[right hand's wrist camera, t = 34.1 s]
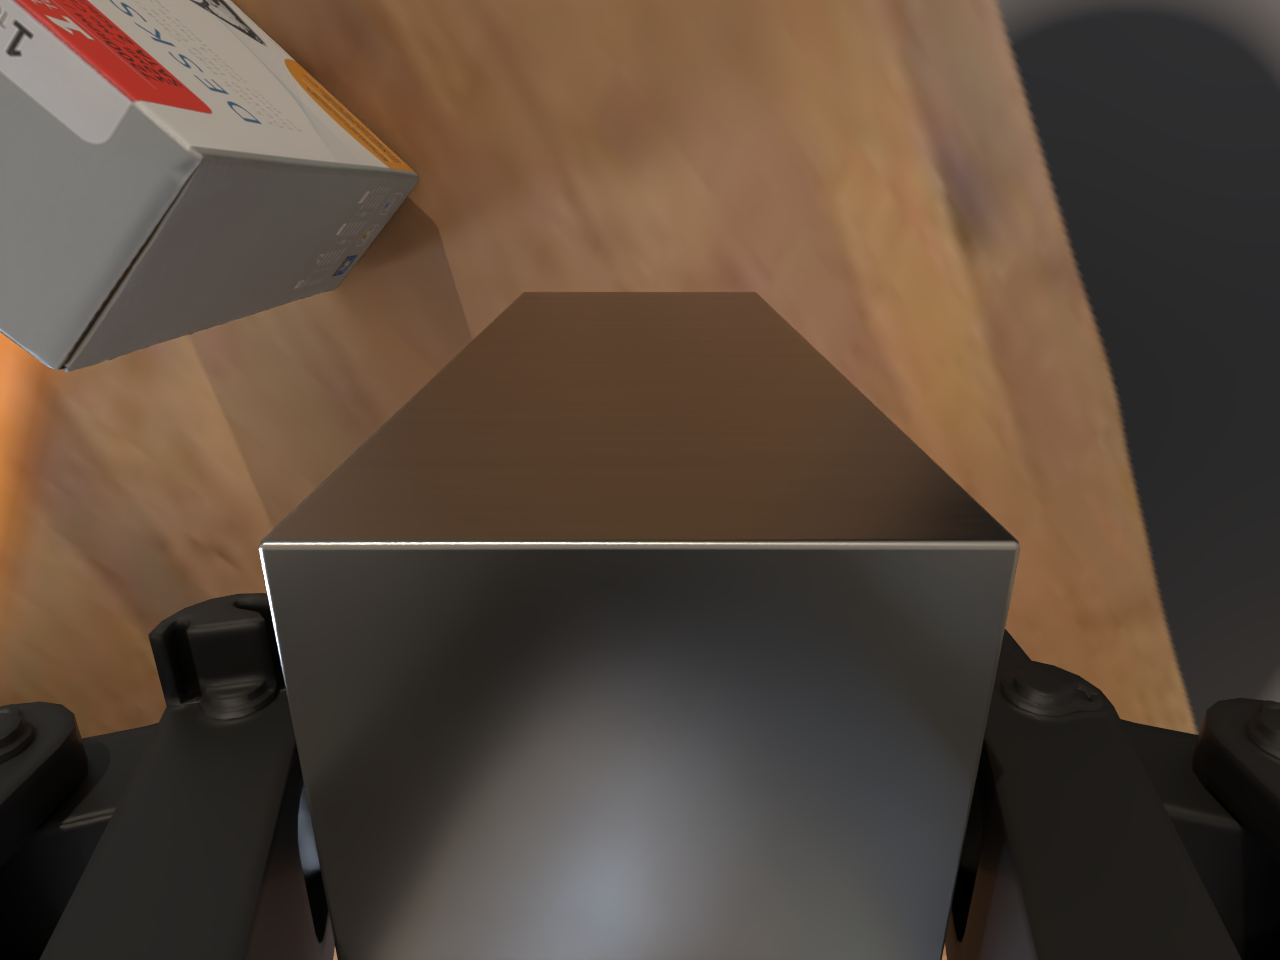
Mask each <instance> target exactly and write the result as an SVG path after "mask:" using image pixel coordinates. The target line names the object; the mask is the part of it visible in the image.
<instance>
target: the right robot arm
mask: <svg viewBox="0 0 1280 960" xmlns="http://www.w3.org/2000/svg"><path fill="white" fill-rule="evenodd" d="M149 639H150V643H151V647H152V651H153V655H154V659H155V662H156V666H157V670H158V674H159V678H160V682H161V686H162V690H163V693H164V697H165V701H166V705H167V708H166V710H165V712H164V714H163V715H162V717H161V719H160V721H159V723H156V724H152V725H148V726H144V727H140V728H135V729H129V730H124V731H119V732H114V733H109V734H104V735H99V736H94V737H88V738H83V739H81V736H80V733H79V729H78V726H77V723H76V720H75V716H74V714H73V713H72V712H71V711H69V710H68V709H67V708H65V707H64V706H63V705H60V704H53V703H45V702H33V703H24V704H11V705H6V706H1V707H0V960H333V956H334V948H335V942H334V937H333V932H332V926H331V921H330V916H329V911H328V905H327V900H326V895H325V890H324V885H323V879H322V874H321V869H320V864H319V859H318V853H317V848H316V843H315V838H314V833H313V827H312V822H311V817H310V812H309V806H308V801H307V796H306V791H305V786H304V780H303V775H302V770H301V765H300V760H299V754H298V749H297V744H296V739H295V734H294V728H293V723H292V718H291V713H290V707H289V702H288V697H287V692H286V687H285V681H284V676H283V671H282V666H281V661H280V655H279V650H278V645H277V640H276V635H275V629H274V624H273V619H272V614H271V608H270V603H269V598H268V594H265V593H254V594H235V595H230V596H225V597H219V598H214V599H210V600H207V601H204V602H201V603H199V604H196V605H193V606H190V607H187V608H184V609H183V610H181V611H179V612H177V613H176V614H174V615H172V616H170V617H168V618H167V619H165V620H163V621H162V622H161V623H160V624H159V625H158V626H157V627H156V628H155V629H154V630H153V631H152V632H151V633H150V634H149ZM945 946H946V954H947V960H1280V703H1279V702H1274V701H1263V700H1254V699H1245V698H1237V699H1230V700H1223V701H1218V702H1217V703H1215V704H1214V705H1213V706H1211V707H1210V708H1209V709H1207V711H1206V714H1205V717H1204V721H1203V724H1202V727H1201V730H1200V733H1199V735H1195V734H1190V733H1184V732H1179V731H1174V730H1169V729H1164V728H1159V727H1153V726H1148V725H1143V724H1138V723H1134V722H1130V721H1126V720H1122V719H1120V718H1119V716H1118V714H1117V712H1116V710H1115V708H1114V706H1113V705H1112V704H1111V702H1110V701H1109V700H1108V699H1107V698H1106V696H1105V695H1104V694H1103V693H1102V692H1101V690H1099V689H1098V688H1096V687H1095V686H1093V685H1092V684H1090V683H1089V682H1087V681H1086V680H1084V679H1083V678H1081V677H1080V676H1078V675H1075V674H1073V673H1071V672H1068V671H1066V670H1063V669H1061V668H1058V667H1056V666H1053V665H1049V664H1044V663H1040V662H1035V661H1031V660H1030V658H1029V657H1028V656H1027V655H1026V654H1025V652H1024V651H1023V650H1022V649H1021V647H1020V646H1019V645H1018V644H1017V643H1016V641H1015V640H1014V639H1013V638H1012V636H1011V635H1010V634H1009V633H1008V632H1007V630H1006V629H1005V630H1004V635H1003V640H1002V646H1001V651H1000V656H999V661H998V666H997V672H996V677H995V682H994V687H993V693H992V698H991V703H990V708H989V714H988V719H987V724H986V729H985V734H984V740H983V745H982V750H981V755H980V761H979V766H978V771H977V776H976V782H975V787H974V792H973V797H972V802H971V808H970V813H969V818H968V823H967V829H966V834H965V839H964V844H963V850H962V855H961V860H960V865H959V870H958V876H957V881H956V886H955V891H954V897H953V902H952V907H951V912H950V918H949V923H948V928H947V933H946V939H945Z"/></svg>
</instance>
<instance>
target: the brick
mask: <svg viewBox="0 0 1280 960" xmlns="http://www.w3.org/2000/svg"><path fill="white" fill-rule="evenodd" d="M259 551H260V556H261V562H262V567H263V572H264V577H265V582H266V588H267V593H268V598H269V603H270V608H271V614H272V619H273V624H274V629H275V635H276V640H277V645H278V650H279V655H280V661H281V666H282V671H283V676H284V681H285V687H286V692H287V697H288V702H289V707H290V713H291V718H292V723H293V728H294V734H295V739H296V744H297V749H298V754H299V760H300V765H301V770H302V775H303V780H304V786H305V791H306V796H307V801H308V806H309V812H310V817H311V822H312V827H313V833H314V838H315V843H316V848H317V853H318V859H319V864H320V869H321V874H322V879H323V885H324V890H325V895H326V900H327V905H328V911H329V916H330V921H331V926H332V932H333V937H334V942H335V947H336V952H337V958H338V960H941V959H942V954H943V949H944V944H945V939H946V933H947V928H948V923H949V918H950V912H951V907H952V902H953V897H954V891H955V886H956V881H957V876H958V870H959V865H960V860H961V855H962V850H963V844H964V839H965V834H966V829H967V823H968V818H969V813H970V808H971V802H972V797H973V792H974V787H975V782H976V776H977V771H978V766H979V761H980V755H981V750H982V745H983V740H984V734H985V729H986V724H987V719H988V714H989V708H990V703H991V698H992V693H993V687H994V682H995V677H996V672H997V666H998V661H999V656H1000V651H1001V646H1002V640H1003V635H1004V630H1005V625H1006V619H1007V614H1008V609H1009V604H1010V598H1011V593H1012V588H1013V583H1014V577H1015V572H1016V567H1017V562H1018V557H1019V551H1020V546H1019V542H1018V541H1017V540H1016V539H1015V538H1014V537H1013V536H1012V535H1011V534H1010V533H1009V532H1008V531H1007V530H1006V529H1005V528H1004V527H1003V526H1002V525H1001V524H999V523H998V522H997V521H996V520H995V519H994V518H993V517H992V516H991V515H990V514H989V513H988V512H987V511H986V510H985V509H984V508H983V507H982V506H981V505H979V504H978V503H977V502H976V501H975V500H974V499H973V498H972V497H971V496H970V495H969V494H968V493H967V492H966V491H965V490H964V489H963V488H962V487H961V486H959V485H958V484H957V483H956V482H955V481H954V480H953V479H952V478H951V477H950V476H949V475H948V474H947V473H946V472H945V471H944V470H943V469H942V468H940V467H939V466H938V465H937V464H936V463H935V462H934V461H933V460H932V459H931V458H930V457H929V456H928V455H927V454H926V453H925V452H924V451H923V450H922V449H920V448H919V447H918V446H917V445H916V444H915V443H914V442H913V441H912V440H911V439H910V438H909V437H908V436H907V435H906V434H905V433H904V432H903V431H901V430H900V429H899V428H898V427H897V426H896V425H895V424H894V423H893V422H892V421H891V420H890V419H889V418H888V417H887V416H886V415H885V414H884V413H883V412H881V411H880V410H879V409H878V408H877V407H876V406H875V405H874V404H873V403H872V402H871V401H870V400H869V399H868V398H867V397H866V396H865V395H864V394H863V393H861V392H860V391H859V390H858V389H857V388H856V387H855V386H854V385H853V384H852V383H851V382H850V381H849V380H848V379H847V378H846V377H845V376H844V375H842V374H841V373H840V372H839V371H838V370H837V369H836V368H835V367H834V366H833V365H832V364H831V363H830V362H829V361H828V360H827V359H826V358H825V357H824V356H822V355H821V354H820V353H819V352H818V351H817V350H816V349H815V348H814V347H813V346H812V345H811V344H810V343H809V342H808V341H807V340H806V339H805V338H804V337H802V336H801V335H800V334H799V333H798V332H797V331H796V330H795V329H794V328H793V327H792V326H791V325H790V324H789V323H788V322H787V321H786V320H785V319H783V318H782V317H781V316H780V315H779V314H778V313H777V312H776V311H775V310H774V309H773V308H772V307H771V306H770V305H769V304H768V303H767V302H766V301H765V300H763V299H762V298H761V297H760V296H759V295H758V294H757V293H755V292H524V293H522V294H521V295H520V296H519V297H518V298H517V299H516V300H515V301H514V302H513V303H512V304H511V305H510V306H509V307H508V308H507V309H506V310H505V311H503V312H502V313H501V314H500V315H499V316H498V317H497V318H496V319H495V320H494V321H493V322H492V323H491V324H490V325H489V326H488V327H487V328H486V329H484V330H483V331H482V332H481V333H480V334H479V335H478V336H477V337H476V338H475V339H474V340H473V341H472V342H471V343H470V344H469V345H468V346H467V347H465V348H464V349H463V350H462V351H461V352H460V353H459V354H458V355H457V356H456V357H455V358H454V359H453V360H452V361H451V362H450V363H449V364H448V365H446V366H445V367H444V368H443V369H442V370H441V371H440V372H439V373H438V374H437V375H436V376H435V377H434V378H433V379H432V380H431V381H430V382H429V383H427V384H426V385H425V386H424V387H423V388H422V389H421V390H420V391H419V392H418V393H417V394H416V395H415V396H414V397H413V398H412V399H411V400H410V401H408V402H407V403H406V404H405V405H404V406H403V407H402V408H401V409H400V410H399V411H398V412H397V413H396V414H395V415H394V416H393V417H392V418H391V419H389V420H388V421H387V422H386V423H385V424H384V425H383V426H382V427H381V428H380V429H379V430H378V431H377V432H376V433H375V434H374V435H373V436H372V437H371V438H369V439H368V440H367V441H366V442H365V443H364V444H363V445H362V446H361V447H360V448H359V449H358V450H357V451H356V452H355V453H354V454H353V455H352V456H350V457H349V458H348V459H347V460H346V461H345V462H344V463H343V464H342V465H341V466H340V467H339V468H338V469H337V470H336V471H335V472H334V473H333V474H331V475H330V476H329V477H328V478H327V479H326V480H325V481H324V482H323V483H322V484H321V485H320V486H319V487H318V488H317V489H316V490H315V491H314V492H312V493H311V494H310V495H309V496H308V497H307V498H306V499H305V500H304V501H303V502H302V503H301V504H300V505H299V506H298V507H297V508H296V509H295V510H293V511H292V512H291V513H290V514H289V515H288V516H287V517H286V518H285V519H284V520H283V521H282V522H281V523H280V524H279V525H278V526H277V527H276V528H274V529H273V530H272V531H271V532H270V533H269V534H268V535H267V536H266V537H265V538H264V539H263V540H262V541H261V543H260V547H259Z"/></svg>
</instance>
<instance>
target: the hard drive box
mask: <svg viewBox="0 0 1280 960" xmlns="http://www.w3.org/2000/svg"><path fill="white" fill-rule="evenodd" d="M418 181H419V177H418V175H417V174H416V173H415V172H414V171H413V170H412V169H411V168H410V167H409V166H408V165H407V164H406V163H405V162H404V161H403V160H402V159H400V158H399V157H398V156H397V155H396V154H395V153H394V152H393V151H392V150H391V149H390V148H389V147H388V146H387V145H385V144H384V143H383V142H382V141H381V140H380V139H379V138H378V137H377V136H376V135H375V134H374V133H373V132H372V131H371V130H370V129H369V128H368V127H366V126H365V125H364V124H363V123H362V122H361V121H360V120H359V119H358V118H357V117H356V116H354V115H353V114H352V113H351V112H350V111H349V110H348V109H347V108H346V107H345V106H344V105H343V104H341V103H340V102H339V101H338V100H337V99H336V98H335V97H334V96H333V95H331V94H330V93H329V92H328V91H327V90H326V89H325V88H324V87H323V86H322V85H321V84H320V83H319V82H318V81H317V80H315V79H314V78H313V77H312V76H311V75H310V74H309V73H308V72H307V71H306V70H305V69H304V68H302V67H301V66H300V65H299V64H298V63H297V62H296V61H295V60H294V59H293V58H292V57H290V56H289V55H288V54H287V53H286V52H285V51H284V50H283V49H282V48H281V47H280V46H279V45H278V44H277V43H276V42H275V41H274V40H272V39H271V38H270V37H269V36H268V35H267V34H266V33H265V32H264V31H263V30H262V29H260V28H259V27H258V26H257V25H256V24H255V23H254V22H253V21H252V20H251V19H250V18H249V17H248V16H247V15H246V14H245V13H243V12H242V11H241V10H240V9H239V8H238V7H237V6H236V5H235V4H234V3H233V2H232V1H231V0H0V332H1V333H2V334H4V335H5V336H6V337H8V338H9V339H10V340H12V341H13V342H14V343H16V344H17V345H19V346H20V347H21V348H23V349H24V350H26V351H27V352H28V353H30V354H31V355H32V356H34V357H35V358H37V359H38V360H39V361H41V362H42V363H43V364H45V365H46V366H48V367H50V368H53V369H55V370H58V369H63V370H65V371H66V372H69V371H73V370H77V369H80V368H84V367H87V366H91V365H95V364H98V363H101V362H103V361H106V360H112V359H114V358H116V357H118V356H121V355H125V354H128V353H131V352H133V351H136V350H139V349H144V348H147V347H150V346H152V345H155V344H158V343H162V342H165V341H168V340H171V339H175V338H178V337H181V336H184V335H188V334H192V333H194V332H197V331H200V330H204V329H208V328H211V327H214V326H216V325H222V324H224V323H227V322H230V321H233V320H236V319H240V318H243V317H246V316H249V315H253V314H255V313H258V312H261V311H264V310H268V309H270V308H273V307H276V306H279V305H283V304H286V303H289V302H292V301H295V300H298V299H303V298H305V297H310V296H312V295H315V294H320V293H322V292H327V291H331V290H335V289H336V288H337V287H338V285H339V284H340V283H341V282H342V280H343V279H344V278H345V277H346V275H347V274H348V273H349V272H350V270H351V269H352V268H353V267H354V265H355V264H356V263H357V261H358V260H359V259H360V258H361V256H362V255H363V254H364V253H365V251H366V250H367V249H368V247H369V246H370V245H371V243H372V242H373V241H374V239H375V238H376V237H377V235H378V234H379V233H380V231H381V230H382V229H383V228H384V226H385V225H386V224H387V223H388V221H389V220H390V219H391V217H392V216H393V215H394V213H395V212H396V211H397V209H398V208H399V207H400V205H401V204H402V203H403V202H404V200H405V199H406V198H407V196H408V195H409V194H410V192H411V191H412V190H413V188H414V187H415V185H416V184H417V182H418Z"/></svg>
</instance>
